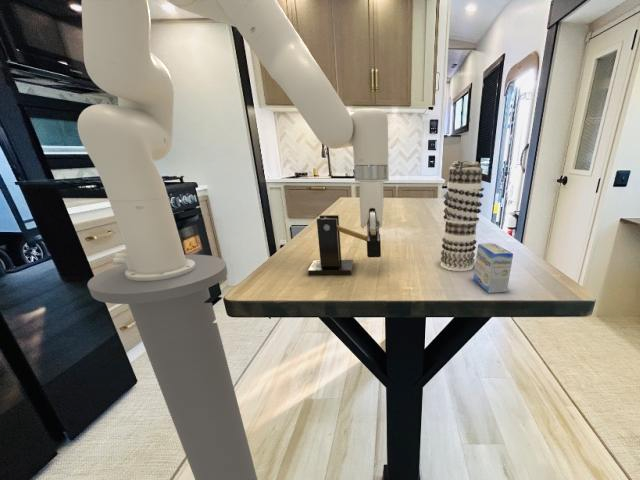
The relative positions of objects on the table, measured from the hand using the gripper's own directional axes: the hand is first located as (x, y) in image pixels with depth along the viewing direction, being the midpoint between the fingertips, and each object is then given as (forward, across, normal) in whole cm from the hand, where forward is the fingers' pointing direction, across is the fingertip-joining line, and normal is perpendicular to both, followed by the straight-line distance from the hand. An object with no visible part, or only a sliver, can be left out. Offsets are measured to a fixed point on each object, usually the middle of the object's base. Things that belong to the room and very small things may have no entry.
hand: (374, 252), depth 78 cm
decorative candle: (+5, -2, +21) cm, 22 cm away
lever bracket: (+4, 0, -11) cm, 11 cm away
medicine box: (+5, +12, +25) cm, 28 cm away
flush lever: (-4, 0, -6) cm, 7 cm away
